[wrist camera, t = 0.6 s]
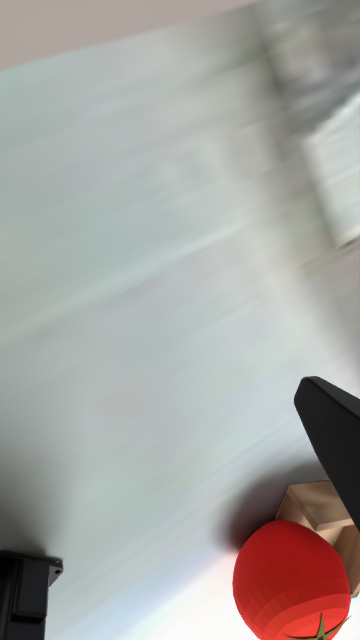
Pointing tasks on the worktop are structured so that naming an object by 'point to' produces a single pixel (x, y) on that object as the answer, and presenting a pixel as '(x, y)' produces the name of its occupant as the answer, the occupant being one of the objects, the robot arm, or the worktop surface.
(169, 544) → the worktop surface
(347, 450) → the robot arm
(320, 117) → the worktop surface
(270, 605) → the tomato
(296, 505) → the tray
